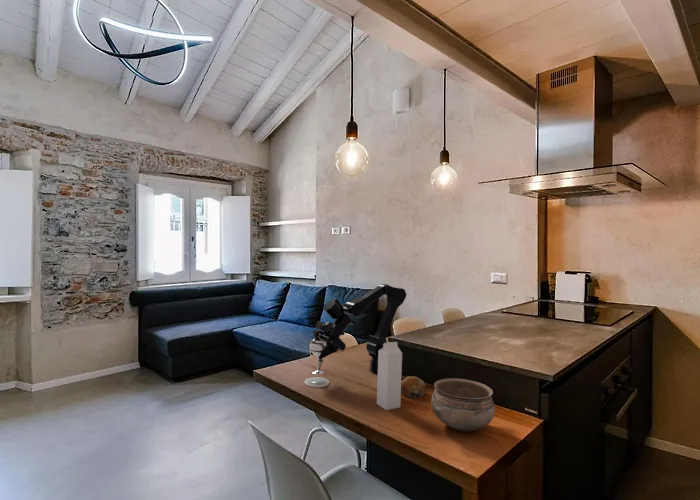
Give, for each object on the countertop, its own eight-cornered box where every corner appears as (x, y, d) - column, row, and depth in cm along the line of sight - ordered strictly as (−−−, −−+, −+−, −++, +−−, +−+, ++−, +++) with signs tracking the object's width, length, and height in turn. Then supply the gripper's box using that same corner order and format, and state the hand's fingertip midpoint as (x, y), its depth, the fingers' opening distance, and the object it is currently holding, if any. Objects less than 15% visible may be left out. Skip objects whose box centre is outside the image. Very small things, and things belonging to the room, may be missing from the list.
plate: (326, 378, 161) (326, 376, 161) (331, 386, 152) (331, 384, 152) (302, 379, 158) (302, 377, 158) (306, 388, 149) (306, 386, 149)
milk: (400, 407, 133) (403, 343, 133) (385, 410, 130) (388, 345, 130) (390, 401, 139) (392, 339, 139) (376, 403, 136) (378, 341, 136)
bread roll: (427, 402, 148) (430, 381, 151) (421, 399, 140) (424, 376, 143) (402, 397, 152) (405, 376, 156) (395, 394, 144) (398, 371, 147)
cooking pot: (458, 407, 135) (459, 372, 135) (510, 427, 121) (511, 388, 121) (411, 426, 119) (412, 387, 119) (465, 452, 104) (466, 407, 104)
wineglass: (328, 371, 157) (329, 341, 157) (321, 376, 151) (322, 345, 151) (313, 368, 160) (314, 339, 159) (306, 373, 153) (307, 343, 153)
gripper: (316, 310, 165) (292, 338, 159) (340, 317, 150) (314, 349, 143) (331, 326, 169) (308, 355, 163) (356, 335, 154) (331, 367, 148)
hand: (315, 356), depth 154 cm, fingers closed on wineglass, 6 cm apart
